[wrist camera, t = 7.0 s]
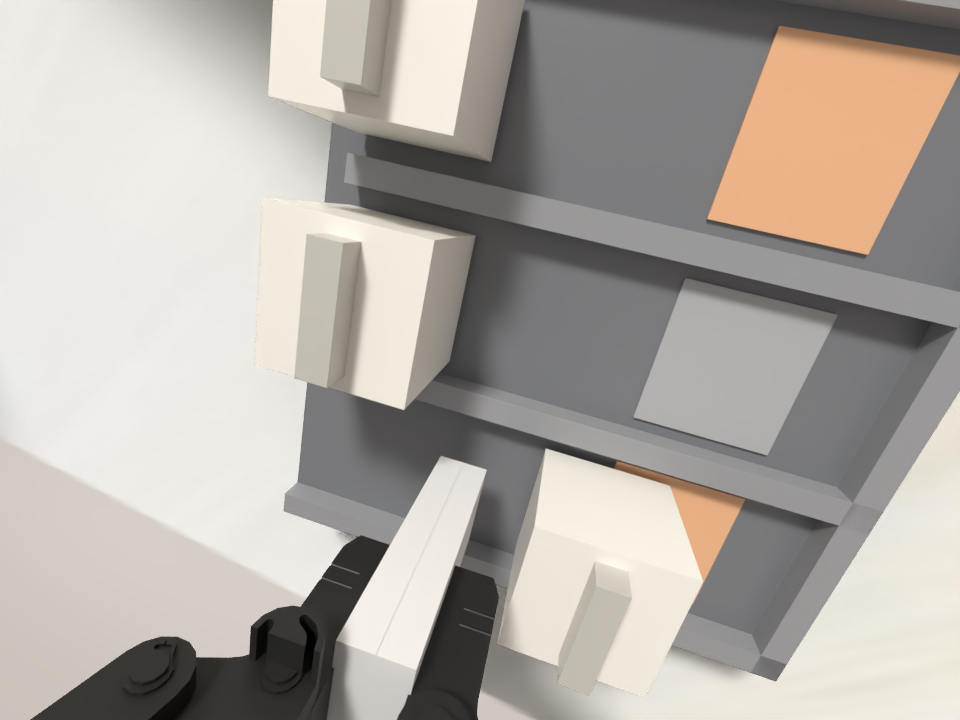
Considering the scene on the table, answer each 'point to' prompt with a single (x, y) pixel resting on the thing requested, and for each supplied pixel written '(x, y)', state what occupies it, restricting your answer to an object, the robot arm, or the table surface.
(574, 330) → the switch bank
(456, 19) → the tab
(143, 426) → the table surface
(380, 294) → the tab
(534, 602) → the tab
